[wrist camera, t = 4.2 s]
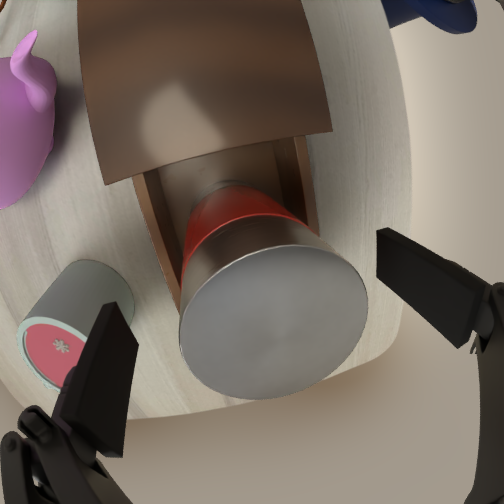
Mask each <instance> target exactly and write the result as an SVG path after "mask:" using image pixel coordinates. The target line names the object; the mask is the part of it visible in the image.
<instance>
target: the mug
mask: <svg viewBox="0 0 504 504" xmlns="http://www.w3.org/2000/svg"><path fill="white" fill-rule="evenodd" d="M114 301H116V302H117V304H118V306H119V308H120V310H121V312H122V314H123V316H124V318H125V320H126V322H127V324H128V326H129V327H130V324H131V321H132V317H133V314H134V299H133V295H132V293H131V290H130V288H129V287H128V285H127V283H126V282H125V281H124V279H123V278H122V277H121V276H120V275H119V274H118V273H117V272H116V271H114V270H113V269H112V268H110V267H109V266H107V265H105V264H102V263H100V262H97V261H92V260H80V261H76V262H74V263H72V264H70V265H68V266H67V267H66V268H65V269H64V271H63V272H62V273H61V274H60V275H59V276H58V277H57V279H56V280H55V281H54V282H53V283H52V284H51V286H50V287H49V288H48V289H47V291H46V292H45V293H44V294H43V295H42V297H41V298H40V299H39V300H38V302H37V303H36V304H35V306H34V307H33V308H32V310H31V311H30V312H29V314H28V315H27V316H26V318H25V319H24V320H23V322H22V323H21V324H20V326H19V328H18V331H17V345H18V348H19V351H20V354H21V356H22V358H23V360H24V361H25V363H26V364H27V366H28V367H29V368H30V370H31V371H32V372H33V373H34V374H35V375H36V376H37V377H38V378H39V379H40V380H41V381H42V382H43V384H44V386H45V387H46V388H48V389H50V388H52V389H54V390H56V391H57V392H59V393H60V390H61V387H63V382H64V379H65V377H66V375H67V373H68V372H69V371H70V370H71V368H72V367H73V366H76V365H77V362H78V360H79V357H80V355H81V352H82V350H83V348H84V345H85V343H86V341H87V338H88V336H89V334H90V331H91V329H92V327H93V325H94V322H95V320H96V318H97V316H98V314H99V312H100V310H101V307H102V305H103V304H106V303H110V302H114Z"/></svg>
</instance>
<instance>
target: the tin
mask: <svg viewBox="0 0 504 504" xmlns="http://www.w3.org/2000/svg"><path fill="white" fill-rule="evenodd" d="M367 314H368V297H367V292H366V288H365V285H364V283H363V280H362V278H361V277H360V275H359V273H358V272H357V271H356V269H355V268H354V267H353V266H352V265H351V264H350V263H349V262H348V261H347V260H346V259H344V258H343V257H342V256H341V255H340V254H338V253H337V252H336V251H335V250H334V249H333V248H331V247H330V246H329V245H328V244H327V243H325V242H324V241H323V240H322V239H321V238H319V237H318V235H317V234H316V233H315V232H314V231H313V230H312V229H310V228H309V227H308V226H307V225H305V224H304V223H303V222H302V221H300V220H299V219H298V218H296V217H295V216H294V215H293V214H291V213H290V212H289V211H287V210H286V209H285V208H284V207H282V206H281V205H280V204H278V203H277V202H276V201H274V200H273V199H272V198H270V197H269V196H268V195H266V194H265V193H264V192H262V191H260V190H258V189H257V188H256V187H254V186H253V185H251V184H249V183H246V182H244V181H239V180H224V181H220V182H217V183H214V184H212V185H210V186H209V187H207V188H205V189H204V190H203V191H202V192H201V193H200V194H199V195H198V196H197V198H196V199H195V201H194V203H193V204H192V207H191V210H190V214H189V220H188V224H187V230H186V238H185V246H184V255H183V264H182V274H181V303H180V319H179V346H180V350H181V354H182V357H183V359H184V362H185V364H186V365H187V367H188V368H189V370H190V371H191V373H192V374H193V375H194V376H195V377H196V378H197V379H198V380H199V381H200V382H202V383H203V384H204V385H206V386H207V387H209V388H210V389H212V390H214V391H216V392H219V393H221V394H224V395H227V396H230V397H235V398H240V399H249V400H263V399H272V398H278V397H283V396H286V395H290V394H293V393H296V392H299V391H302V390H304V389H306V388H308V387H310V386H312V385H314V384H316V383H317V382H319V381H321V380H322V379H324V378H325V377H327V376H328V375H329V374H331V373H332V372H333V371H334V370H335V369H337V368H338V367H339V366H340V365H341V364H342V363H343V362H344V361H345V360H346V358H347V357H348V356H349V355H350V354H351V352H352V351H353V349H354V348H355V346H356V345H357V343H358V341H359V339H360V337H361V335H362V333H363V330H364V328H365V324H366V320H367Z"/></svg>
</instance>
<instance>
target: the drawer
mask: <svg viewBox="0 0 504 504" xmlns="http://www.w3.org/2000/svg"><path fill="white" fill-rule="evenodd" d="M132 180H133V184H134V187H135V191H136V194H137V198H138V201H139V204H140V208H141V211H142V214H143V217H144V220H145V224H146V227H147V230H148V233H149V236H150V239H151V242H152V244H153V247H154V250H155V253H156V256H157V259H158V261H159V264H160V267H161V270H162V272H163V275H164V278H165V280H166V283H167V285H168V288H169V290H170V293H171V295H172V298H173V300H174V303H175V305H176V308H177V310H178V313H179V315H180V303H181V274H182V264H183V255H184V246H185V238H186V230H187V224H188V220H189V214H190V210H191V207H192V204H193V203H194V201H195V199H196V198H197V196H198V195H199V194H200V193H201V192H202V191H203V190H204V189H205V188H207V187H209V186H210V185H212V184H214V183H217V182H220V181H224V180H239V181H244V182H246V183H249V184H251V185H253V186H254V187H256V188H257V189H258V190H260V191H262V192H264V193H265V194H266V195H268V196H269V197H270V198H272V199H273V200H274V201H276V202H277V203H278V204H280V205H281V206H282V207H284V208H285V209H286V210H287V211H289V212H290V213H291V214H293V215H294V216H295V217H296V218H298V219H299V220H300V221H302V222H303V223H304V224H305V225H307V226H308V227H309V228H310V229H312V230H313V231H314V232H315V233H316V234H317V235H318V237H319V238H320V234H319V226H318V217H317V210H316V202H315V195H314V187H313V181H312V174H311V168H310V161H309V155H308V149H307V144H306V138H305V135H304V136H297V137H290V138H284V139H278V140H273V141H267V142H262V143H257V144H252V145H247V146H242V147H237V148H233V149H228V150H224V151H219V152H215V153H211V154H207V155H203V156H199V157H195V158H192V159H188V160H184V161H181V162H177V163H174V164H170V165H167V166H163V167H160V168H157V169H153V170H150V171H147V172H144V173H141V174H138V175H135V176H132Z"/></svg>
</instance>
